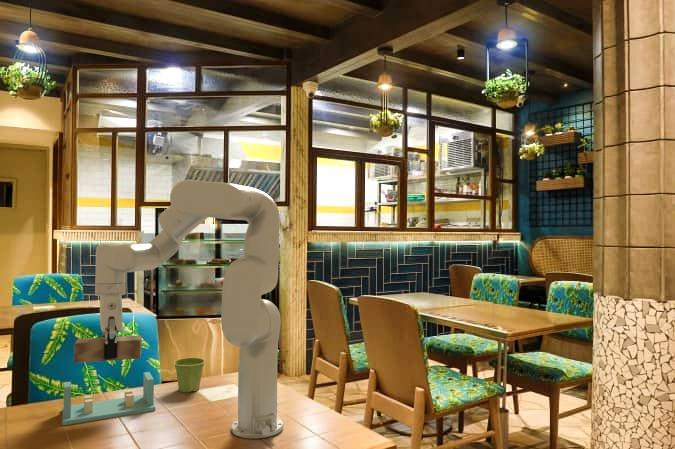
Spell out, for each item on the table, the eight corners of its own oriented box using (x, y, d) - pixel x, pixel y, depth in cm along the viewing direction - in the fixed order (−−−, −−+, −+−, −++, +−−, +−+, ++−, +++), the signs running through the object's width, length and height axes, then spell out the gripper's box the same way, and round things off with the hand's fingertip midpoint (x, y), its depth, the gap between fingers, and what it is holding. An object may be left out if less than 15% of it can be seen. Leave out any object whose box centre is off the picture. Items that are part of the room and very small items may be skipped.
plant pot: (209, 385, 156) (209, 357, 156) (198, 395, 147) (198, 365, 147) (180, 384, 157) (181, 357, 157) (167, 394, 148) (168, 364, 148)
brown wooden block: (73, 362, 129) (74, 343, 129) (78, 357, 134) (78, 338, 134) (140, 358, 134) (140, 339, 134) (141, 353, 139) (141, 335, 140)
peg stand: (148, 397, 144) (149, 370, 145) (155, 410, 134) (155, 380, 134) (62, 410, 134) (63, 380, 134) (62, 425, 123) (62, 393, 123)
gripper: (129, 292, 129) (127, 361, 128) (122, 285, 144) (121, 347, 144) (97, 293, 125) (95, 364, 125) (93, 286, 140) (92, 349, 140)
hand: (109, 354), depth 134 cm, fingers closed on brown wooden block, 6 cm apart
